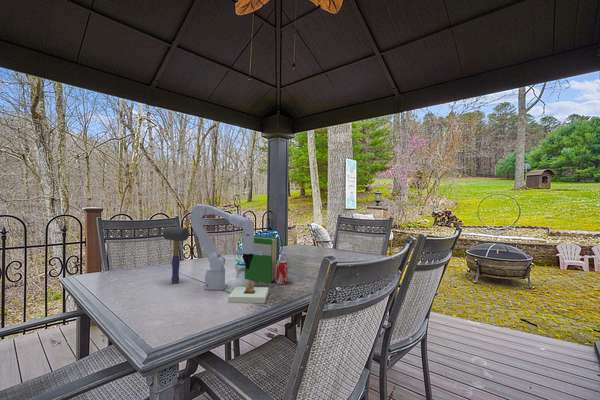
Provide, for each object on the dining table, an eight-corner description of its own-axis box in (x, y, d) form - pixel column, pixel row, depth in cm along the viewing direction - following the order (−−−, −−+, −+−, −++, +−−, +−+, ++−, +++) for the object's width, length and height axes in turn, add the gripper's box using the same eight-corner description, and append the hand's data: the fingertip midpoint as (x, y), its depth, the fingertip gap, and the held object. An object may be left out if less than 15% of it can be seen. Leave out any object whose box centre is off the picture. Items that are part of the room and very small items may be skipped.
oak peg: (244, 298, 126) (245, 282, 126) (246, 295, 130) (247, 280, 130) (252, 298, 126) (253, 283, 126) (254, 296, 130) (254, 281, 130)
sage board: (228, 302, 121) (228, 296, 121) (236, 291, 135) (236, 286, 135) (264, 303, 121) (264, 297, 121) (268, 292, 135) (268, 287, 135)
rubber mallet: (160, 283, 147) (161, 226, 147) (171, 279, 154) (172, 225, 154) (179, 285, 143) (180, 227, 143) (189, 281, 150) (190, 226, 150)
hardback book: (277, 280, 156) (278, 237, 156) (270, 283, 150) (271, 239, 150) (252, 275, 164) (253, 235, 164) (244, 279, 158) (245, 236, 158)
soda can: (283, 285, 146) (283, 263, 146) (272, 283, 150) (272, 261, 150) (290, 282, 152) (290, 260, 152) (280, 280, 156) (280, 259, 156)
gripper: (232, 243, 139) (231, 270, 139) (261, 244, 139) (260, 271, 139) (235, 241, 146) (235, 267, 146) (263, 242, 146) (262, 267, 146)
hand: (247, 268), depth 143 cm, fingers closed
